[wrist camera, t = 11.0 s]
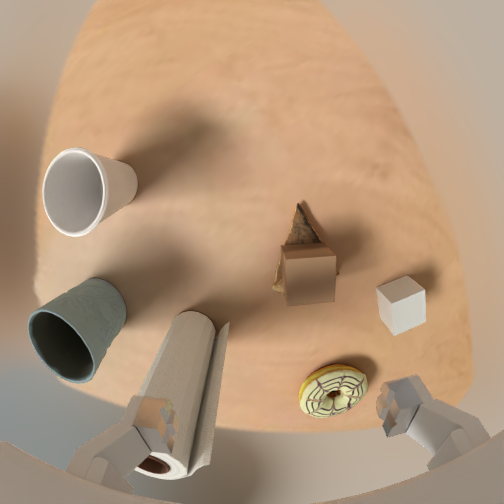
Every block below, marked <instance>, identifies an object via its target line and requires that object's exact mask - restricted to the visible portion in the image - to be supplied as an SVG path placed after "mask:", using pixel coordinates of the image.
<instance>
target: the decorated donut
mask: <svg viewBox="0 0 504 504" xmlns="http://www.w3.org/2000/svg"><path fill="white" fill-rule="evenodd" d="M367 388H368V384H367V379H366V375H365V374H362V372H361V371H360V370H358V369H356V368H353V367H351V366H347V365H342V364H335V365H330V366H326V367H324V368H321V369H319V370H317V371H316V372H314V373H312V374H311V375H310V376H308V377H307V379H306V380H305V381H304V383H303V385H302V387H301V389H300V391H299V403H300V406H301V409H302V410H303V411H304V412H305V413H306V414H308V415H311V416H314V417H317V418H324V417H331V416H335V415H337V414H341V413H343V412H345V411H347V410H349V409H351V408H352V407H353V406H355V405H356V404H357V403H358V402H359V401H360V400H361V399H362V398H363V396H364V395H365V393H366V391H367ZM333 390H336V391H335V392H333V393H329V392H331V391H333Z"/></svg>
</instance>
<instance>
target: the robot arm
mask: <svg viewBox="0 0 504 504" xmlns="http://www.w3.org/2000/svg"><path fill="white" fill-rule="evenodd" d="M380 390H381V392H382V393H381V394H380V395H379V396H378V398H377V401H376V409H377V414H378V416H379V418H381V419H382V420H384V423H383V425H382V426H383V428H384V430H385V433H386V436H387V437H391V436H395V435H398V434H402V433H405V432H406V434H408V435H409V436H410V437H412V438H413V439H414V440H415V441H417V442H418V443H420V444H421V445H422V446H424V447H425V448H427V449H428V450H429V451H431V452H432V453H433V454H435V456H434V457H433V458H432V459H431V460H430V462H429V463H428V465H427V466H428V469H429V471H428V472H425V473H423V474H421V475H418V476H416V477H413V478H411V479H408V480H405V481H403V482H400V483H397V484H394V485H391V486H388V487H385V488H381V489H378V490H374V491H371V492H367V493H363V494H359V495H355V496H351V497H346V498H342V499H337V500H332V501H326V502H321V503H313V504H504V430H502V431H501V432H499V433H498V434H496V435H495V436H493V437H492V438H490V436H489V434H488V433H487V431H486V430H485V428H484V427H483V425H482V423H481V422H480V420H479V419H478V418H477V417H475V416H472V415H470V414H468V413H466V412H463V411H461V410H459V409H457V408H455V407H453V406H451V405H449V404H447V403H445V402H442V401H440V400H438V399H435V400H434V399H433V397H432V396H431V394H430V393H429V391H428V389H427V388H426V386H425V385H424V383H423V382H422V380H421V379H420V377H419V376H418V375H417V374H415V375H411V376H408V377H403V378H400V379H396V380H392V381H388V382H384V383H383V384H382V385H381V388H380ZM172 406H173V404H172V402H171V400H170V399H163V398H154V397H147V396H138V395H134V396H133V397H132V398H131V400H130V402H129V404H128V406H127V408H126V411H125V413H124V415H123V417H122V420H121V422H120V424H118V423H116V424H115V425H113V426H112V427H110V428H109V429H107V430H106V431H104V432H102V433H101V434H99V435H98V436H96V437H95V438H93V439H92V440H90V441H88V442H87V443H85V444H84V445H82V446H80V447H79V448H77V449H76V451H75V453H74V455H73V457H72V459H71V461H70V463H69V465H68V467H67V469H66V471H63V470H61V469H58V468H56V467H54V466H52V465H50V464H48V463H46V462H44V461H41V460H40V459H38V458H36V457H34V456H32V455H30V454H28V453H26V452H25V451H23V450H21V449H19V448H18V447H16V446H15V445H13V444H11V443H9V442H7V441H2V442H0V504H179V503H172V502H166V501H161V500H156V499H151V498H146V497H141V496H137V495H133V494H132V492H133V487H132V486H131V485H130V484H129V483H128V482H127V481H126V480H125V479H124V478H125V477H126V476H128V474H130V473H131V472H132V471H133V470H134V469H135V468H136V467H137V466H138V465H139V464H141V463H142V462H143V461H144V460H145V459H146V458H147V457H148V456H149V455H150V454H151V453H152V452H157V453H165V454H172V450H173V446H174V442H175V441H174V439H173V437H172V436H174V435H175V434H176V433H177V429H178V417H177V414H176V412H175V411H174V410H172Z"/></svg>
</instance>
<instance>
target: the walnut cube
mask: <svg viewBox="0 0 504 504" xmlns="http://www.w3.org/2000/svg"><path fill="white" fill-rule="evenodd" d="M281 261H282V287H283V291H284V295H285V299H286V303H287V306H294V305H306V304H316V303H326V302H335V282H336V255H335V254H334V253H333V252H332V251H331V250H330V249H329V247H328V246H327V245H326V244H325V243H311V244H296V245H281Z"/></svg>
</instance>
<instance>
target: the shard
mask: <svg viewBox="0 0 504 504" xmlns="http://www.w3.org/2000/svg"><path fill="white" fill-rule="evenodd" d="M311 243H322V241H321V239H320V238H319V236H318V234H317V232H316V231H315V229H314V228H313V226H312V225H311V224H310V222H309V221H308V219H307V218H306V216H305V214H304V211H303V209H302V208H301V206H300V205H299V203H297V206H296V208H295V212H294V216H293V221H292V225H291V229H290V232H289V235H288V238H287V240H286V242H285V245H296V244H311ZM338 274H339V271H338V270H337V268H336V276H337V275H338ZM272 289H273V290H275V291H278V292H281V293H284V291H283V287H282V261H281V257H280V260H279V264H278V267H277V270H276V274H275V281H274V284H273V287H272Z"/></svg>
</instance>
